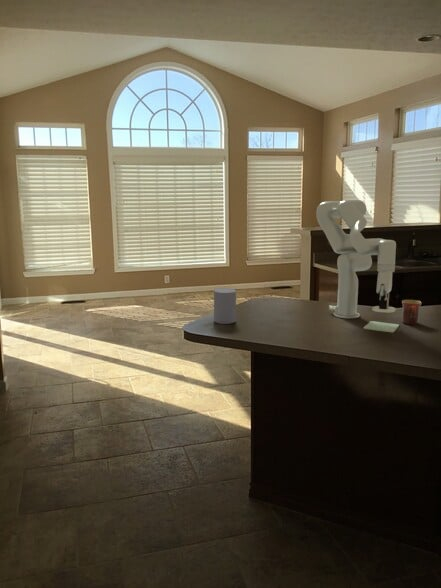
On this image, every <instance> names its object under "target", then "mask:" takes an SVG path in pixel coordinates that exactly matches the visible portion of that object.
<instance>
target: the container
mask: <svg viewBox="0 0 441 588" xmlns="http://www.w3.org/2000/svg"><path fill="white" fill-rule="evenodd" d="M236 305H237V290H236V289H233V288H225V287H224V288H216V289H214V290H213V322H214V323H215V324H218V325H230V324H234V323H236V319H237V317H236V316H237V312H236V311H237V306H236Z"/></svg>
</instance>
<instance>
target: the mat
mask: <svg viewBox="0 0 441 588" xmlns="http://www.w3.org/2000/svg"><path fill="white" fill-rule="evenodd" d="M399 326H400V324H397V323H389V322H382V321H376V320H375V321H373V320H370V321H369V322H368V323H367V324H365V325H364V326H363V329H364V330H369V331H370V330H371V331H378V332H387V333H392V334H393V333H395V331H397V330H398V328H399Z"/></svg>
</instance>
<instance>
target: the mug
mask: <svg viewBox="0 0 441 588" xmlns="http://www.w3.org/2000/svg"><path fill="white" fill-rule="evenodd" d="M401 304H402V315H401V319H402V323H404V324H405V325H410V324H412V325H413V324H414V325H418V323H419V320H420V308H421V305H422V302H421V301H420V300H416V299H415V300H414V299H403V300H401Z"/></svg>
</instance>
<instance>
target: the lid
mask: <svg viewBox="0 0 441 588" xmlns="http://www.w3.org/2000/svg"><path fill="white" fill-rule="evenodd" d="M386 300H387V309H379V305H375V306H372V309H371V310H372V311H373V312H377V313H381V314H382V313H383V314H388V313H389V314H393V313H395V312H396V310H397V309H396V307H393V306H389V307H388V303H389V304H390V296H389V297H387V298H386Z"/></svg>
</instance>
